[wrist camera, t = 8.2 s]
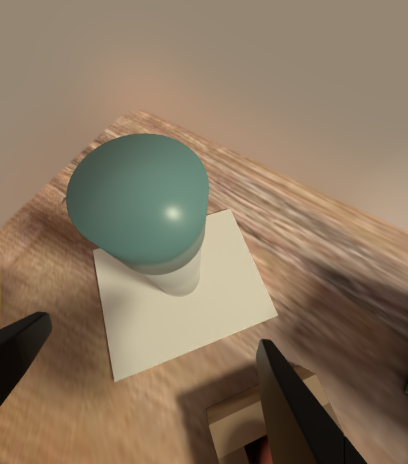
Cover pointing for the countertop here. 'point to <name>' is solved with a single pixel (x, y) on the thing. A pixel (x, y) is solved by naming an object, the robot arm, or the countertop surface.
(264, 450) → the button cap
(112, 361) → the paper
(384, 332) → the countertop surface
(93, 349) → the countertop surface
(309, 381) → the button block
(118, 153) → the marker
